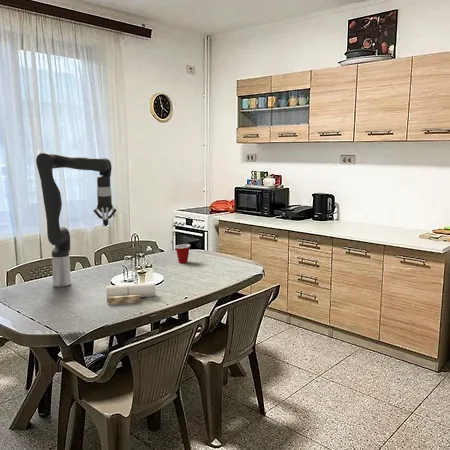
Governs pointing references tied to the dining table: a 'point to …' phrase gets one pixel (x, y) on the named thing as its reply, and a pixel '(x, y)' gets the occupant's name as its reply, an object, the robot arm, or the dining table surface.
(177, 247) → the plastic cup
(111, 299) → the rest
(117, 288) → the cylindrical container
